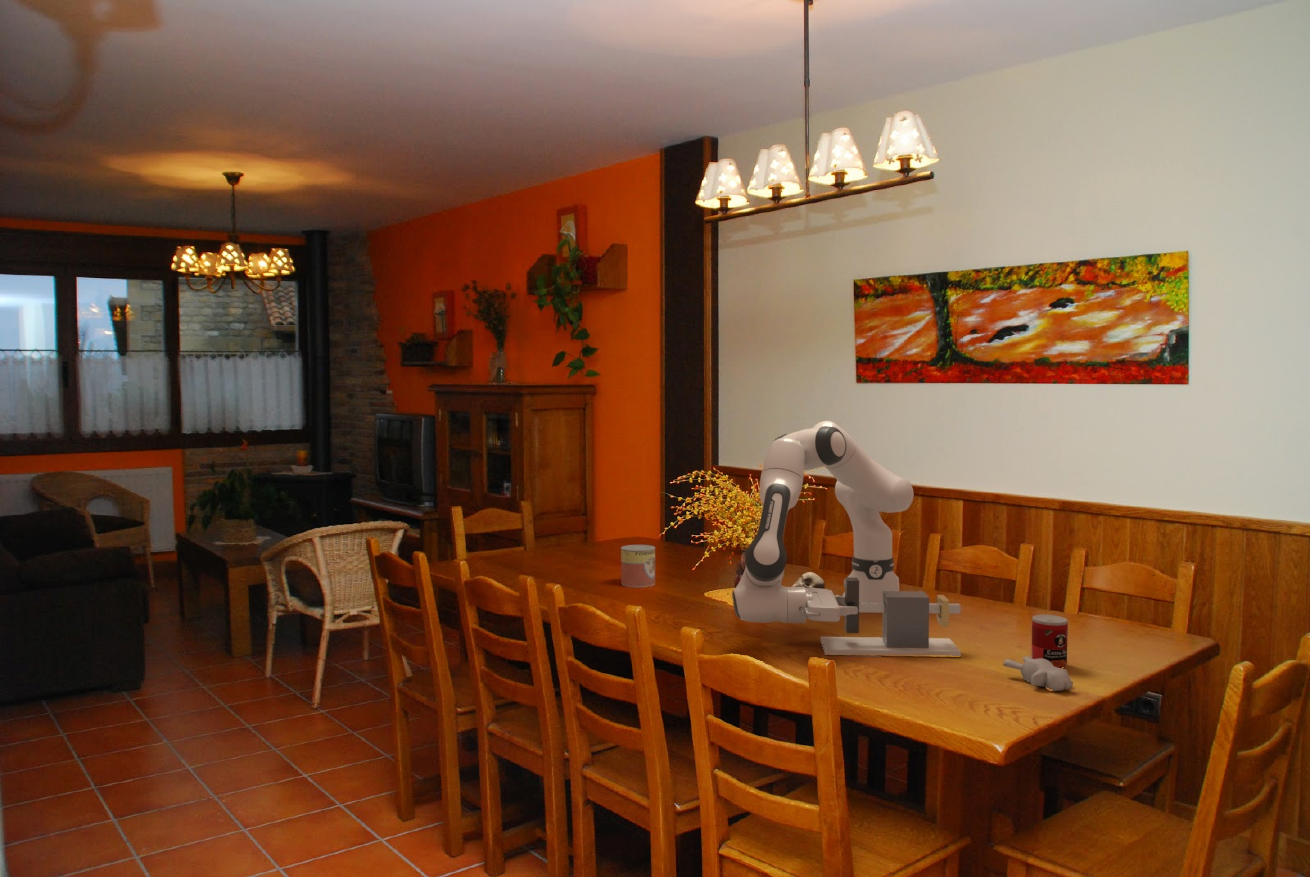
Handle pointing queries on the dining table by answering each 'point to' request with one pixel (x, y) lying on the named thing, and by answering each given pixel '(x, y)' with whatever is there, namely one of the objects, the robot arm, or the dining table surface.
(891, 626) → the block
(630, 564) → the canned food
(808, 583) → the skull
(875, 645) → the base plate
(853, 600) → the shaft
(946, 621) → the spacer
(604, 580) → the dining table surface
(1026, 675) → the bunny figurine
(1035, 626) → the canned food
